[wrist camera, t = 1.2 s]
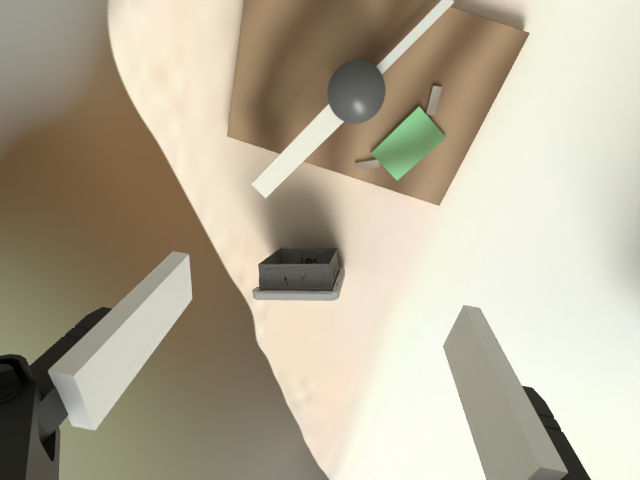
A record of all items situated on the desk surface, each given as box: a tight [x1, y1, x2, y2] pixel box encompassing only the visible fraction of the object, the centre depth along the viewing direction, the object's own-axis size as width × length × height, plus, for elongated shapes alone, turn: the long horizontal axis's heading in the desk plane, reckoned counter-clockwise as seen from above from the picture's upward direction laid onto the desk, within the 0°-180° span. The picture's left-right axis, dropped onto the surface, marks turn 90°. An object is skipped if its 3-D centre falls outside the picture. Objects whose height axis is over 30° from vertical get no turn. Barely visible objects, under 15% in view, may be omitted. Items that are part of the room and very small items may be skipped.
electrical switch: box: [252, 248, 345, 301], centre depth 35 cm, size 9×5×9 cm, turn 97°
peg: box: [251, 0, 454, 198], centre depth 26 cm, size 22×4×6 cm, turn 135°
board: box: [227, 0, 530, 206], centre depth 29 cm, size 24×16×2 cm, turn 75°
